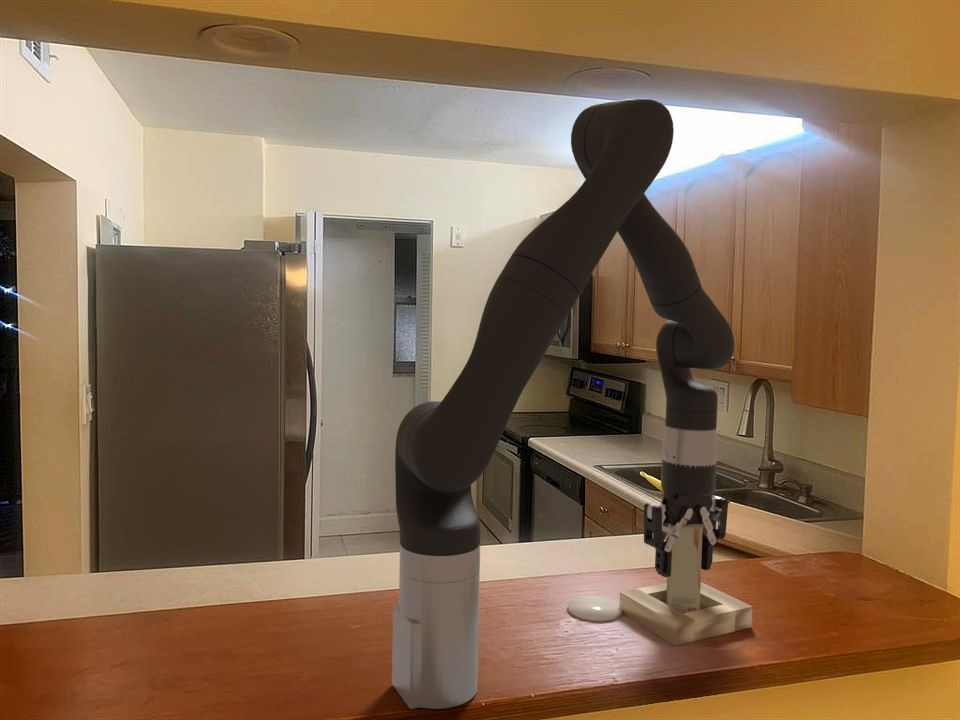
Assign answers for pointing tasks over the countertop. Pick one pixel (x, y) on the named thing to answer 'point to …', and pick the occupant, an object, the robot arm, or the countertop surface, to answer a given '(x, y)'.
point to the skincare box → (685, 569)
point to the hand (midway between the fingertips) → (683, 571)
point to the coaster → (594, 608)
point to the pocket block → (685, 614)
